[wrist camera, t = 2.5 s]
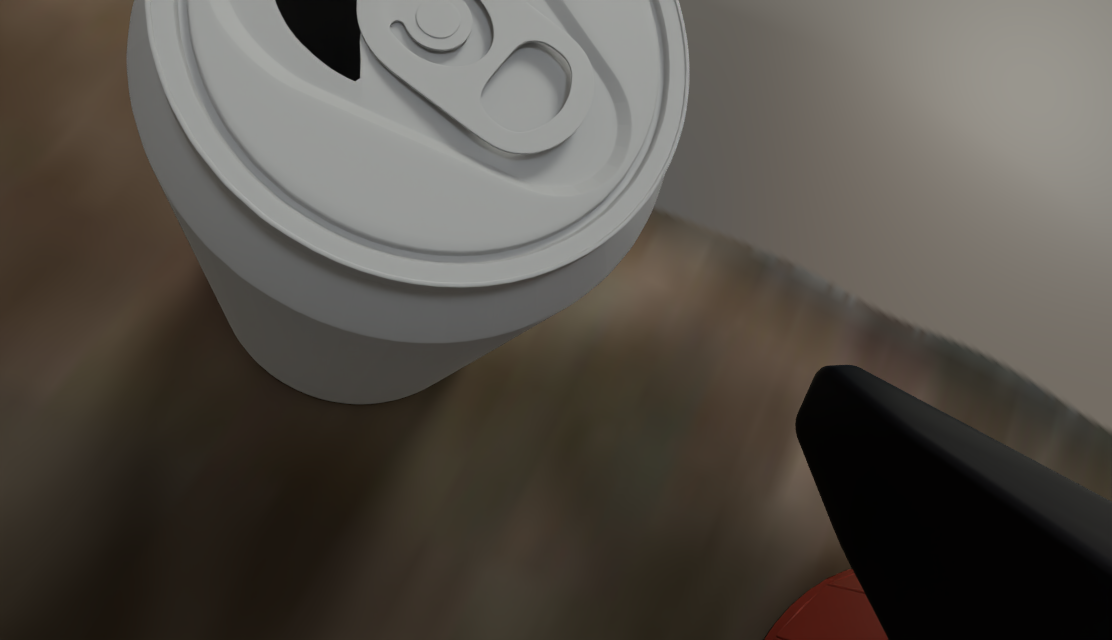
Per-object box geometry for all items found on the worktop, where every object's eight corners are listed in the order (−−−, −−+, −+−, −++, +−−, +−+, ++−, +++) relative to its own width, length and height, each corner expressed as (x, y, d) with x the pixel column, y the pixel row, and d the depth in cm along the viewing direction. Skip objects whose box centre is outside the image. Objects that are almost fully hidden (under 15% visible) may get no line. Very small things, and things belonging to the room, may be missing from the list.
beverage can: (336, 103, 20) (384, -370, 9) (535, 261, 21) (814, 20, 9) (158, 296, 18) (-88, 7, 7) (387, 461, 19) (518, 456, 7)
